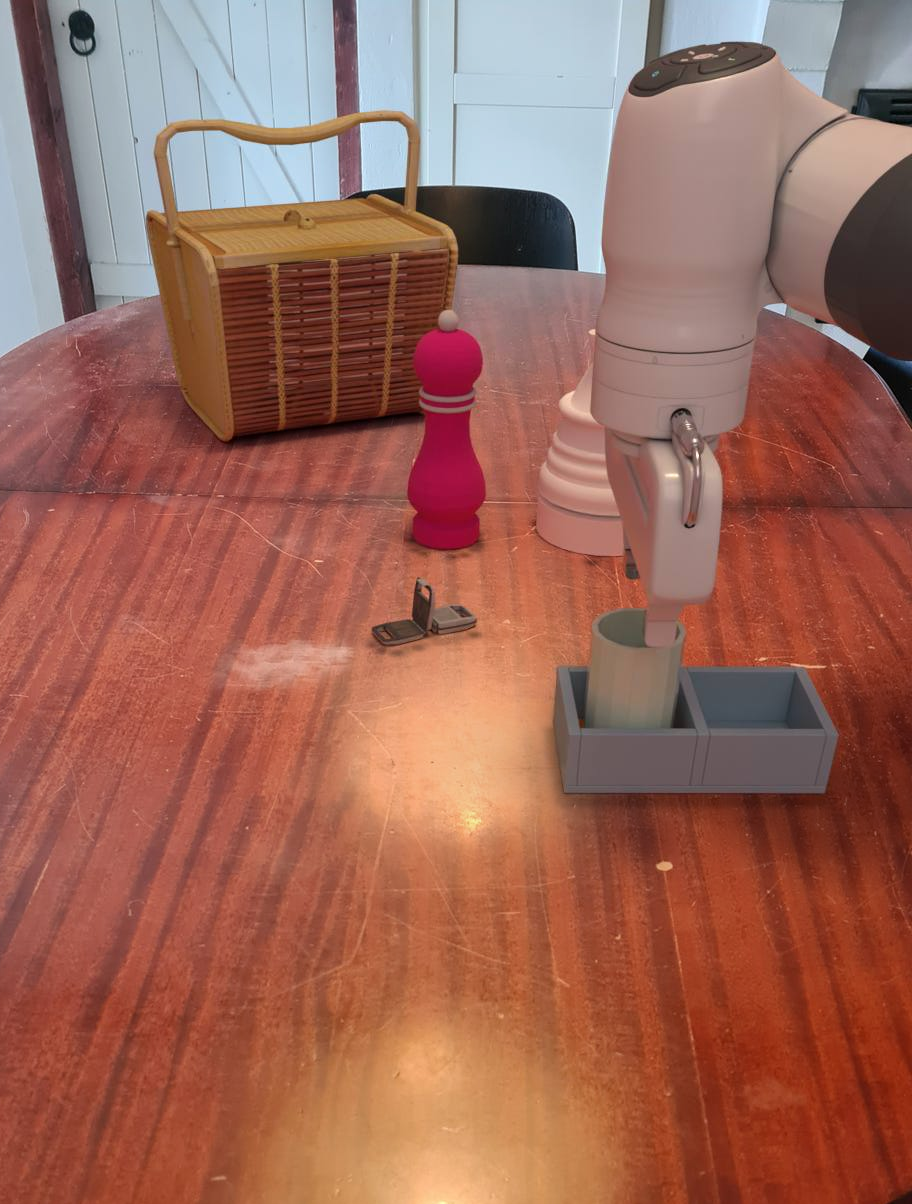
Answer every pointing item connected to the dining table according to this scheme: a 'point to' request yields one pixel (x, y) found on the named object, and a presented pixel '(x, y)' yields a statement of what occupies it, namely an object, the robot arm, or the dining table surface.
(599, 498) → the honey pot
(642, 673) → the cup
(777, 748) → the holder
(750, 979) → the dining table surface
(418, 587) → the strap clip
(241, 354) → the picnic basket
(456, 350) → the pepper mill
